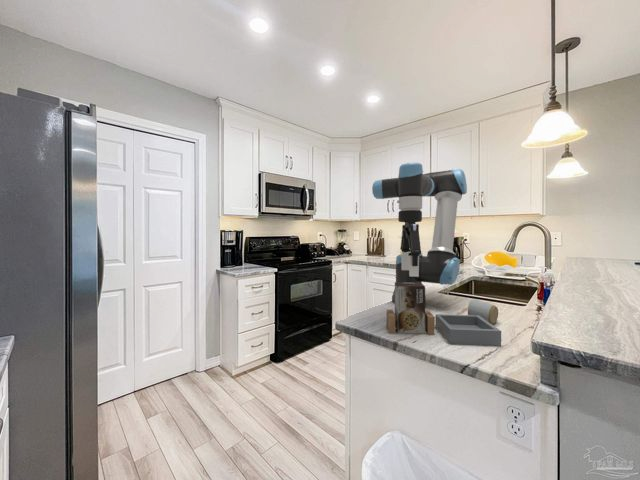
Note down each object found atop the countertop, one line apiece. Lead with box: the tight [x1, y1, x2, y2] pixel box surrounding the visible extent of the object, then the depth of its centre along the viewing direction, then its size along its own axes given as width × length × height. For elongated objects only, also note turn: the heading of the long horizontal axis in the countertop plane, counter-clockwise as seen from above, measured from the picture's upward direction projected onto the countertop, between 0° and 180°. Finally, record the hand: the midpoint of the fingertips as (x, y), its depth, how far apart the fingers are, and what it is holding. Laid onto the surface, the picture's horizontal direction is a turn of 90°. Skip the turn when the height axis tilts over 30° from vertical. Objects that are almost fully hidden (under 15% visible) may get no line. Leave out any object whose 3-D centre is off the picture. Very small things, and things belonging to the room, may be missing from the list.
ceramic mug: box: [467, 299, 499, 325], centre depth 102 cm, size 11×8×8 cm
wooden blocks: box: [385, 308, 435, 336], centre depth 93 cm, size 7×14×6 cm, turn 83°
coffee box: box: [394, 281, 426, 335], centre depth 92 cm, size 9×6×16 cm
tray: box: [434, 313, 502, 347], centre depth 88 cm, size 14×14×4 cm
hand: (409, 273), depth 92 cm, fingers open, 13 cm apart
